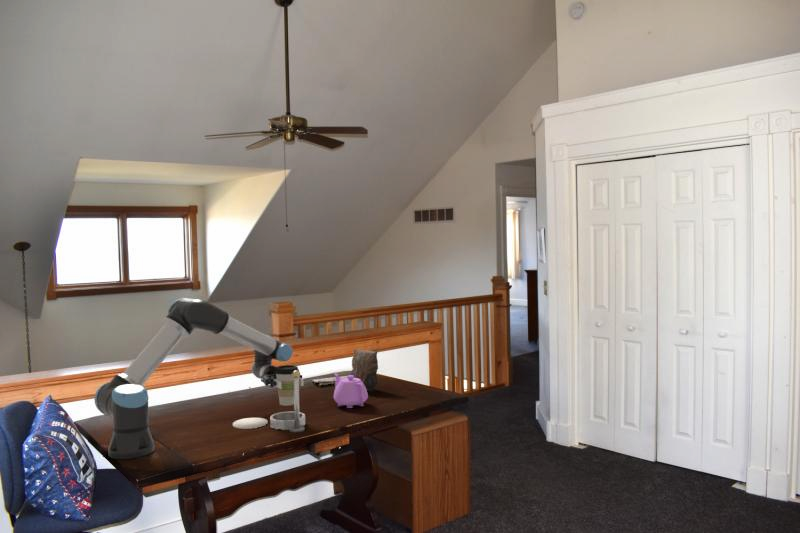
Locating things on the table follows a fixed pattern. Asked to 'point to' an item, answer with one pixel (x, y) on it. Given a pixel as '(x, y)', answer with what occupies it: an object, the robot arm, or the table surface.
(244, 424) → the cream pad
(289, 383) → the coffee cup
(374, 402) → the table surface
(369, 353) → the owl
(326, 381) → the newspaper
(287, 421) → the ring stand
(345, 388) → the teapot
